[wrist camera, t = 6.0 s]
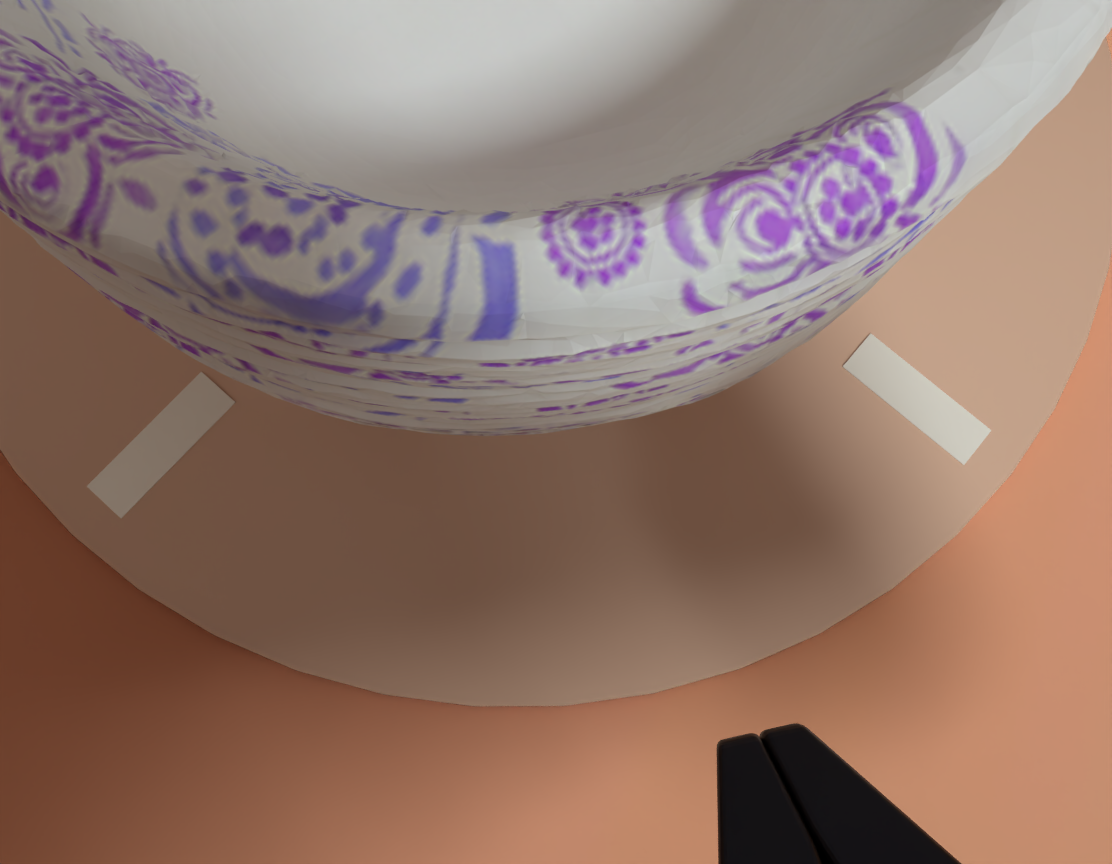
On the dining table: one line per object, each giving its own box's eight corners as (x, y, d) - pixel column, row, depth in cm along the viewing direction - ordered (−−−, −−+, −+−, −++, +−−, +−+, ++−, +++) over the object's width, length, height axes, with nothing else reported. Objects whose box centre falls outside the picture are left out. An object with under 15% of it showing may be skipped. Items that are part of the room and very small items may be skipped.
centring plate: (1336, 49, 18) (1346, 42, 18) (585, 1018, 14) (585, 1023, 14) (479, -559, 21) (478, -571, 20) (-353, 126, 17) (-364, 120, 17)
